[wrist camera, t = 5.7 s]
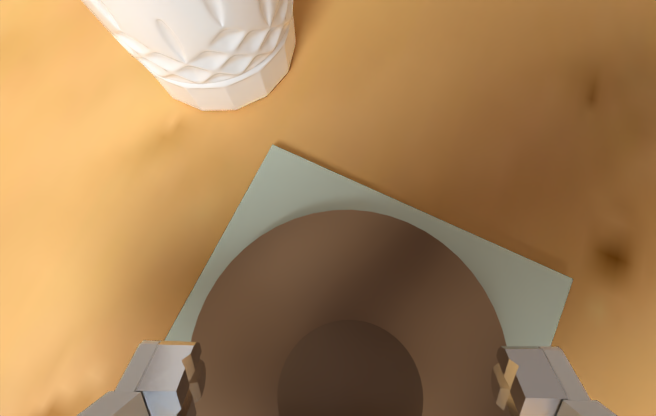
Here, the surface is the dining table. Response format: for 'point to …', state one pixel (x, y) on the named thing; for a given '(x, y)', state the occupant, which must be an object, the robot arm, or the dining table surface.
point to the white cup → (206, 45)
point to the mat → (345, 194)
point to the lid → (348, 324)
